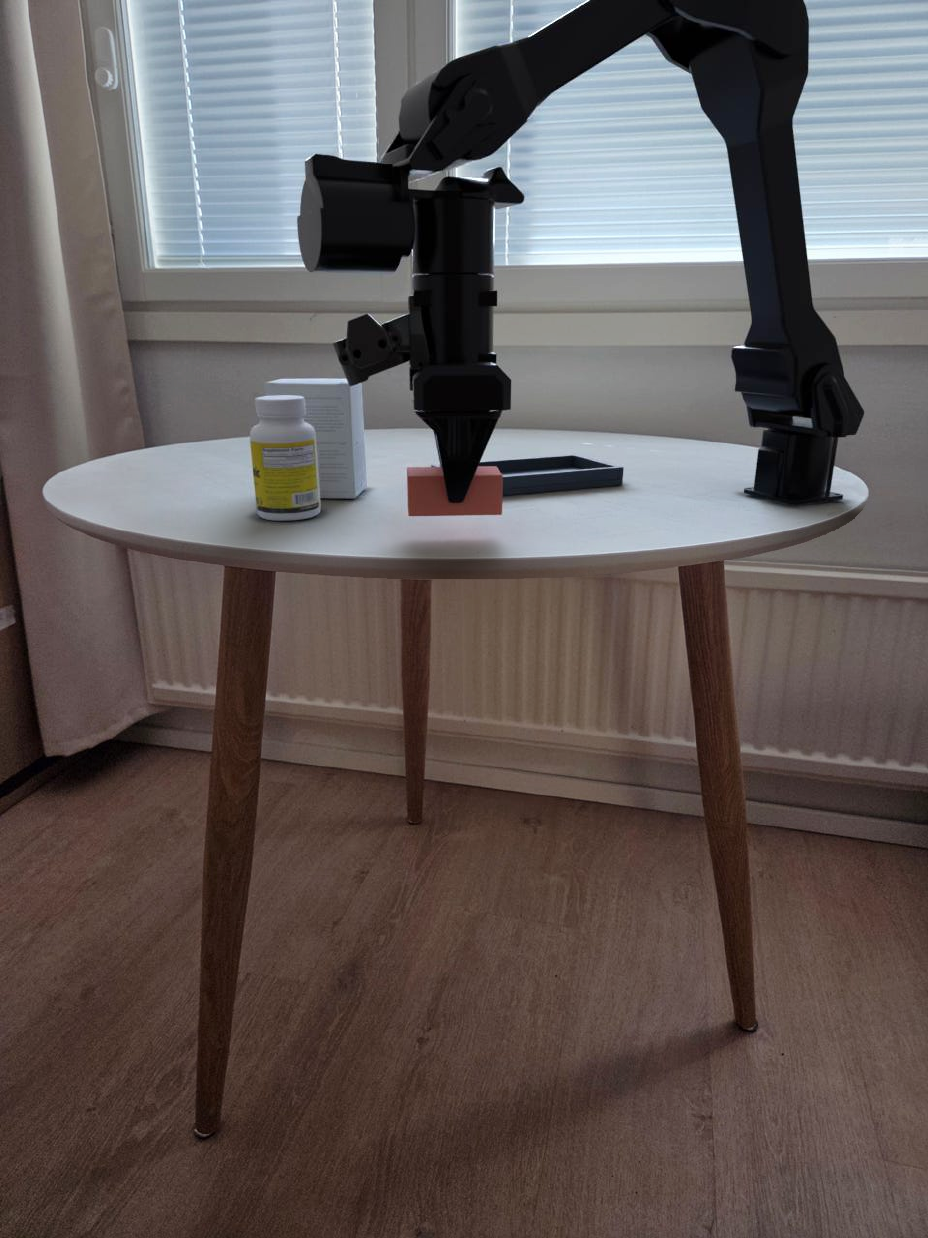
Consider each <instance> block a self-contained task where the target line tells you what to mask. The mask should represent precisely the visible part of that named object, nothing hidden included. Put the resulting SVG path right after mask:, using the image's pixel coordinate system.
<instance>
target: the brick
mask: <svg viewBox="0 0 928 1238" xmlns="http://www.w3.org/2000/svg"><path fill="white" fill-rule="evenodd" d="M406 483H407V484H406V490H407V491H406V492H407V514H408V515H407V516H408V517H451V516H453V517H457V516H459V517H460V516H502V515H503V496H502V489H503V476H502V474H501V472H500V471H499V470H498V468H497V467H496V466H478V468H477V470H476V472H475V475H474V477H473V480H472V482H471V485H470V487H469V489H468V492H467V494H466V497H465V499H464V501H463V502H462V503H450V502H449V501H448V497H447V492H446V486H445V481H444V476H443V471H442V467H431V466H407V467H406Z"/></svg>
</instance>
